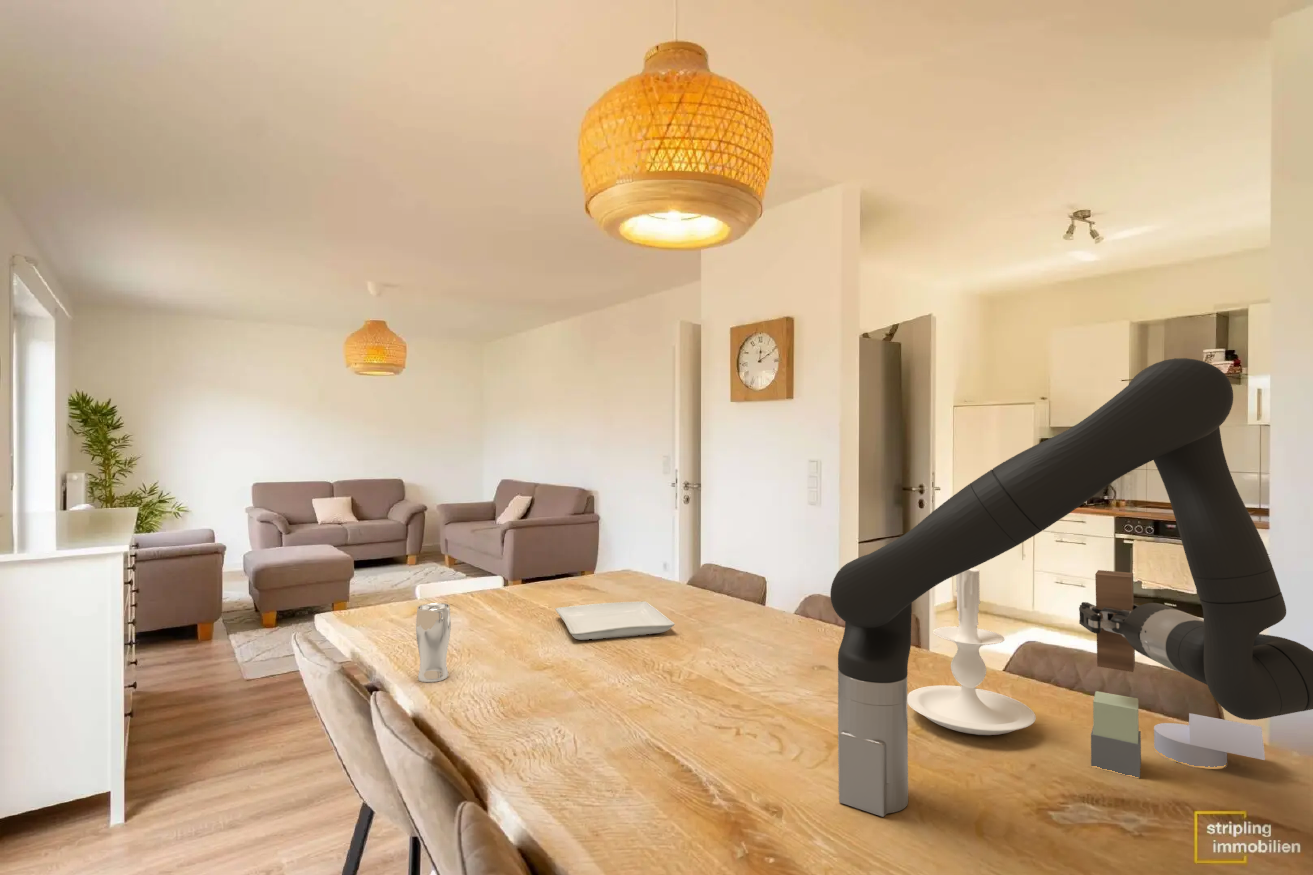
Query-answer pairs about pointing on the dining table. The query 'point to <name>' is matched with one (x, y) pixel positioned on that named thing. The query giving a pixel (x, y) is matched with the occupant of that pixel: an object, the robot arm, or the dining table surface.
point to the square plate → (613, 620)
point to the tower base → (1116, 755)
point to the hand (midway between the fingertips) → (1106, 609)
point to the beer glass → (433, 640)
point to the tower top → (1115, 717)
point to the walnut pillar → (1117, 594)
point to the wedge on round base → (1208, 740)
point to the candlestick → (969, 676)
